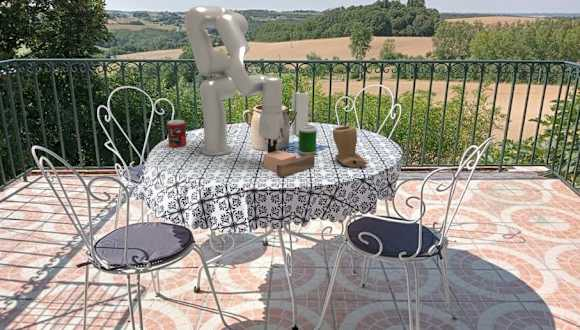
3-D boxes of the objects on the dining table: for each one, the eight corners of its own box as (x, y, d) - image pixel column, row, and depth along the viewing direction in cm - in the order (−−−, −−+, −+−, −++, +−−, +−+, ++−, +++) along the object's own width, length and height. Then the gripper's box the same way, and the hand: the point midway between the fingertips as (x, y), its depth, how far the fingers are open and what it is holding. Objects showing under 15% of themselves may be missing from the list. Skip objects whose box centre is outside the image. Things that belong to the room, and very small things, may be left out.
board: (276, 175, 166) (276, 164, 164) (308, 164, 178) (308, 154, 177) (282, 177, 164) (282, 166, 162) (314, 166, 176) (314, 155, 175)
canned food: (165, 146, 202) (163, 122, 198) (176, 142, 209) (174, 119, 205) (179, 148, 199) (177, 124, 195) (189, 143, 206) (188, 120, 202)
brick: (263, 167, 174) (263, 154, 172) (278, 163, 180) (278, 150, 178) (282, 173, 168) (282, 160, 166) (296, 169, 173) (296, 155, 171)
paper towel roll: (310, 134, 224) (310, 91, 217) (303, 136, 219) (304, 93, 212) (297, 132, 227) (298, 90, 221) (291, 134, 223) (291, 92, 216)
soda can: (314, 156, 188) (315, 129, 184) (297, 155, 190) (297, 128, 186) (317, 151, 195) (317, 125, 191) (300, 150, 197) (300, 124, 193)
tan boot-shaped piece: (328, 157, 187) (330, 122, 182) (356, 156, 189) (358, 122, 184) (338, 169, 173) (339, 132, 168) (367, 168, 174) (369, 131, 170)
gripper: (251, 107, 175) (252, 152, 181) (278, 113, 165) (278, 160, 171) (265, 105, 180) (265, 148, 186) (292, 110, 170) (291, 156, 176)
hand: (271, 154), depth 178 cm, fingers closed
